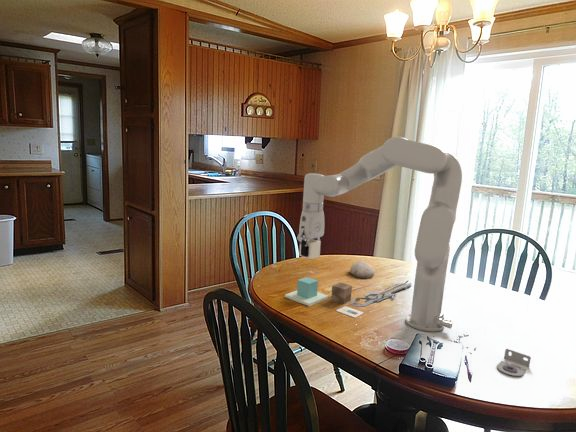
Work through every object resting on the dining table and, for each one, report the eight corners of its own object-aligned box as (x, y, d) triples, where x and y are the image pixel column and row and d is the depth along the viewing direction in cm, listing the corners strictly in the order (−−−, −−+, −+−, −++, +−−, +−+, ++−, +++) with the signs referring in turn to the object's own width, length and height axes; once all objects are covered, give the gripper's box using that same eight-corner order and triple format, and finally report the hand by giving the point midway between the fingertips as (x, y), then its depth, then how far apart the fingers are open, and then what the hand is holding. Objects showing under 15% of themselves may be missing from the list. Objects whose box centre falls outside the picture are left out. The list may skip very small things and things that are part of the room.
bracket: (493, 371, 117) (495, 360, 116) (504, 359, 124) (505, 348, 124) (519, 381, 113) (521, 369, 112) (529, 367, 120) (530, 356, 120)
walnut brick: (350, 300, 163) (352, 285, 162) (343, 304, 158) (344, 289, 157) (338, 296, 166) (339, 282, 165) (331, 300, 161) (332, 285, 160)
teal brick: (317, 295, 163) (318, 280, 162) (308, 299, 159) (309, 283, 158) (305, 291, 167) (306, 276, 165) (296, 294, 162) (297, 279, 161)
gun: (345, 305, 161) (366, 313, 154) (345, 300, 160) (367, 307, 153) (401, 283, 188) (421, 289, 180) (401, 278, 187) (422, 284, 180)
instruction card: (364, 313, 151) (364, 312, 151) (354, 317, 147) (355, 317, 147) (345, 306, 156) (345, 305, 156) (335, 310, 152) (336, 310, 152)
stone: (366, 288, 191) (378, 275, 189) (349, 275, 190) (360, 262, 188) (363, 276, 203) (374, 264, 201) (347, 264, 202) (358, 252, 200)
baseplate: (328, 298, 164) (328, 295, 163) (309, 306, 155) (309, 303, 154) (304, 289, 171) (304, 287, 171) (284, 297, 162) (284, 294, 162)
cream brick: (319, 256, 160) (320, 241, 159) (310, 259, 156) (311, 243, 155) (308, 253, 164) (309, 238, 163) (299, 255, 160) (300, 240, 159)
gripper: (306, 210, 148) (302, 261, 151) (334, 206, 160) (331, 253, 164) (289, 207, 152) (287, 256, 156) (318, 203, 165) (315, 248, 169)
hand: (309, 254), depth 160 cm, fingers closed on cream brick, 5 cm apart
